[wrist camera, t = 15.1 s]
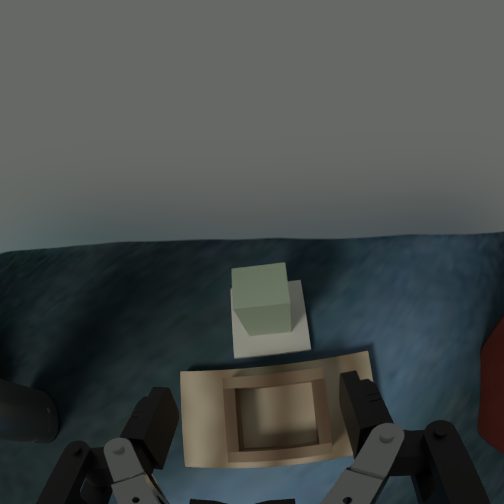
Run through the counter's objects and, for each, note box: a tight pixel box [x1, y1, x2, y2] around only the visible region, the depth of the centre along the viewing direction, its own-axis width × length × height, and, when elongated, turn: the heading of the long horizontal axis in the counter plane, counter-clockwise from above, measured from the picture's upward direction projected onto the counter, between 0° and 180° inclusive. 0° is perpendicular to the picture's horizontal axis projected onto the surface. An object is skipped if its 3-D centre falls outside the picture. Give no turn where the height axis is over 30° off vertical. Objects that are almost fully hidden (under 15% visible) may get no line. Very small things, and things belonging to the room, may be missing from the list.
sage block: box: [232, 262, 291, 336], centre depth 30 cm, size 5×4×10 cm
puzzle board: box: [180, 351, 373, 468], centre depth 27 cm, size 22×12×4 cm, turn 94°
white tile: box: [231, 280, 311, 359], centre depth 35 cm, size 9×9×1 cm
